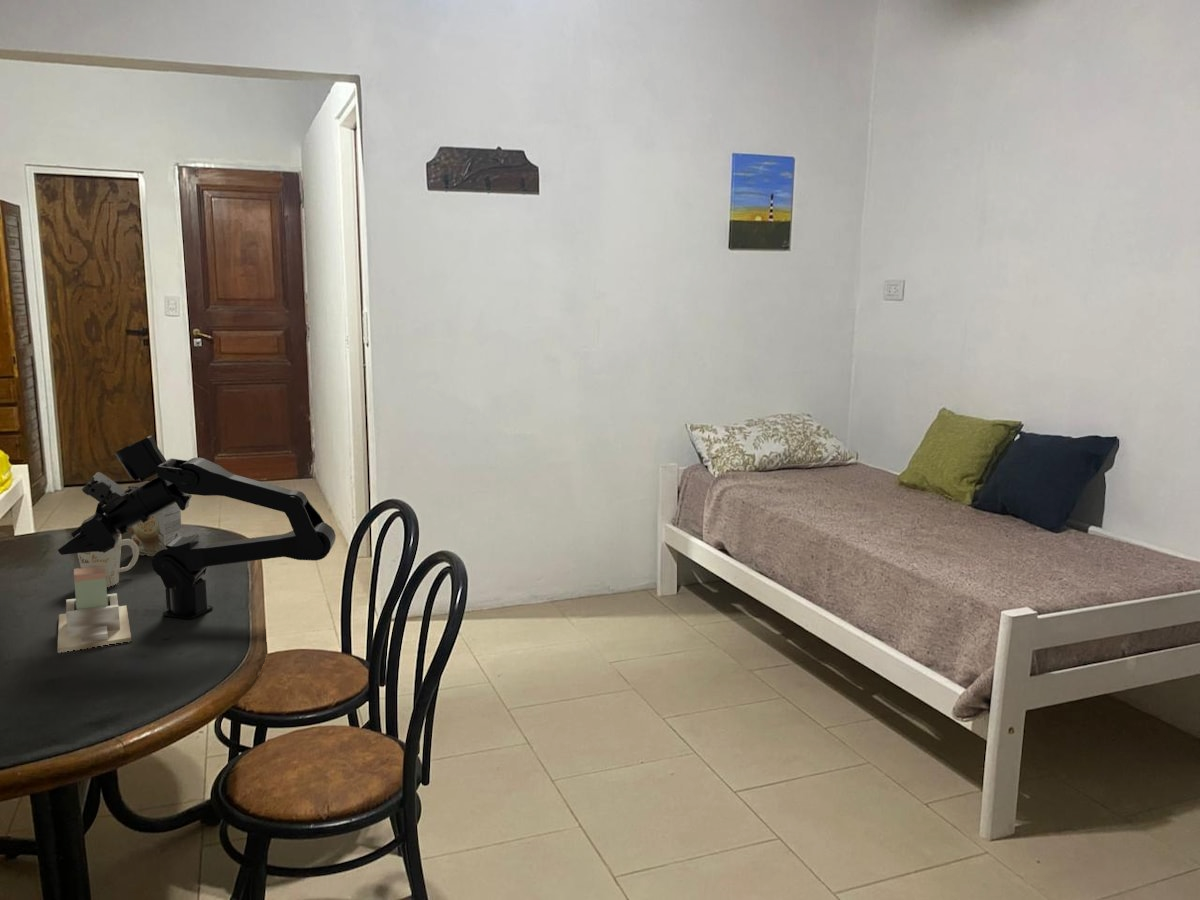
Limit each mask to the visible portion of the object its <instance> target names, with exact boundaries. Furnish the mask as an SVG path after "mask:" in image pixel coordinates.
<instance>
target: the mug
mask: <svg viewBox="0 0 1200 900" xmlns="http://www.w3.org/2000/svg"><path fill="white" fill-rule="evenodd" d="M118 534H119V539H118V542H117V544H116V545H115V547H114V548H112V549H110V550H109V551H107V552H105V553H103V552H84V553H76V554H77V557H78V561H79V565H80V568H85V567H94V566H103V565H105V574H106V587H108V588H111V587H110V586H112V585H115V584H116V585H118V584H119V579H120V573H124V572H126V571H129V570H130V569H132V568H133V567H134V566H135V564H136V563H137V561H138V559H139V556H140V555H139V549H138V546H137V544H136V543H135V542H134V541H133V540H131V539H130V538H125V539H122V537H123V536H122V533H120V532H118ZM123 546H129V547H130V549H131V551H132V550H133V554H132V557H131V560H130V562H129V563H128V565H127V566H122V567H120V566H121V554H122V553H121V551H122V547H123ZM117 583H118V584H117ZM116 585H115V586H116ZM112 587H113V586H112Z"/></svg>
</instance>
